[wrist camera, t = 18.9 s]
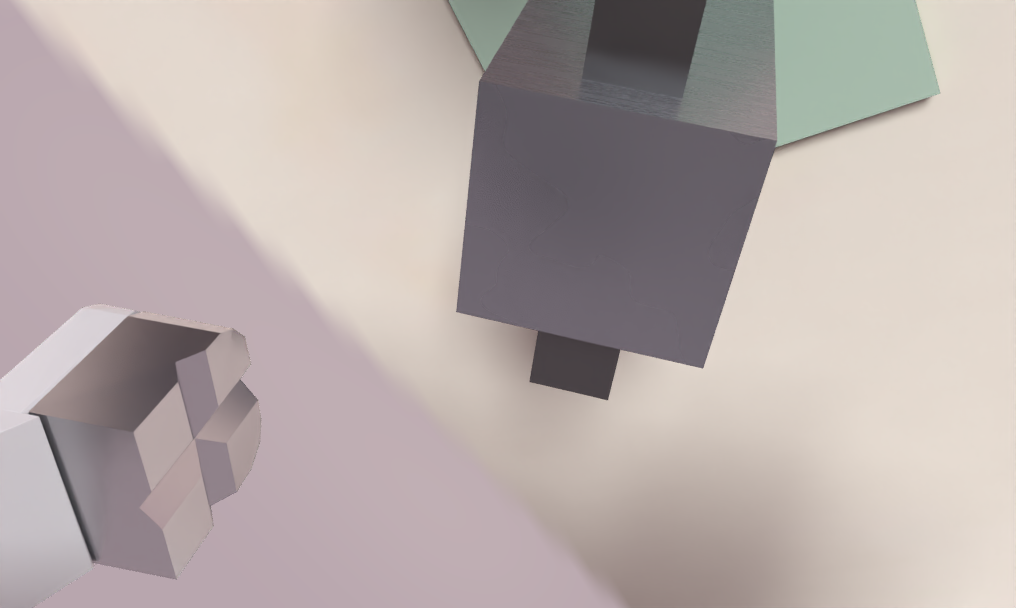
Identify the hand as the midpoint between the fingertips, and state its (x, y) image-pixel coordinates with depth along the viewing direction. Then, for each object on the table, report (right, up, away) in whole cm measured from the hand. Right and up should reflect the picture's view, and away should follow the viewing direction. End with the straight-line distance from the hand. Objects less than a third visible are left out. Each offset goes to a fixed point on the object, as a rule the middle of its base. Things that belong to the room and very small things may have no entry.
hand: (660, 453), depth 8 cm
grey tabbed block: (+1, +7, +9) cm, 12 cm away
